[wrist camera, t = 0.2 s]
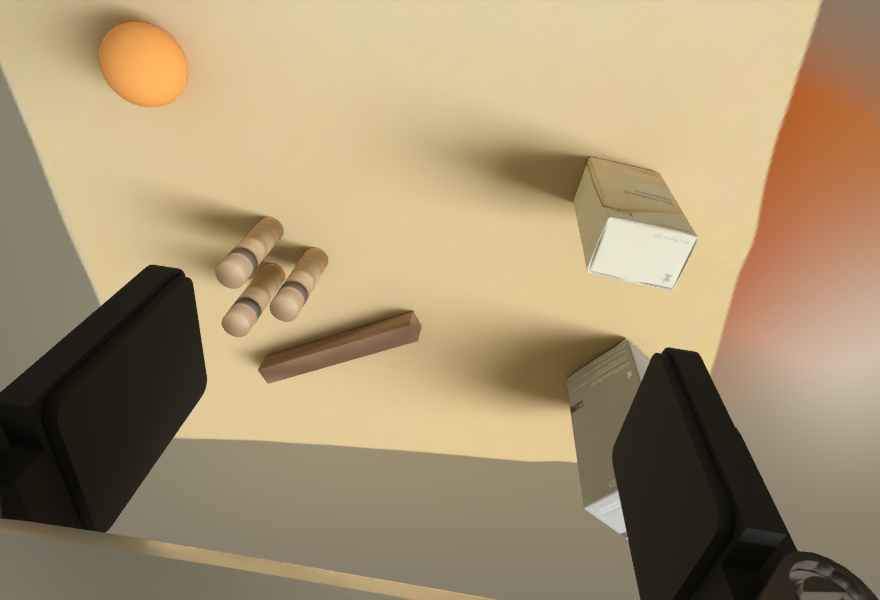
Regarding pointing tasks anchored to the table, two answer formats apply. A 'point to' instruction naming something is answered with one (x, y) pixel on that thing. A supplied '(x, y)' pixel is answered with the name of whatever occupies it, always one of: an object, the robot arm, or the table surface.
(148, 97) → the ball
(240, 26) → the table surface
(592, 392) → the skincare box
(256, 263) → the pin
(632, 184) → the skincare box
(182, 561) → the robot arm
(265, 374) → the back wall
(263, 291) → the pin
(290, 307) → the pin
